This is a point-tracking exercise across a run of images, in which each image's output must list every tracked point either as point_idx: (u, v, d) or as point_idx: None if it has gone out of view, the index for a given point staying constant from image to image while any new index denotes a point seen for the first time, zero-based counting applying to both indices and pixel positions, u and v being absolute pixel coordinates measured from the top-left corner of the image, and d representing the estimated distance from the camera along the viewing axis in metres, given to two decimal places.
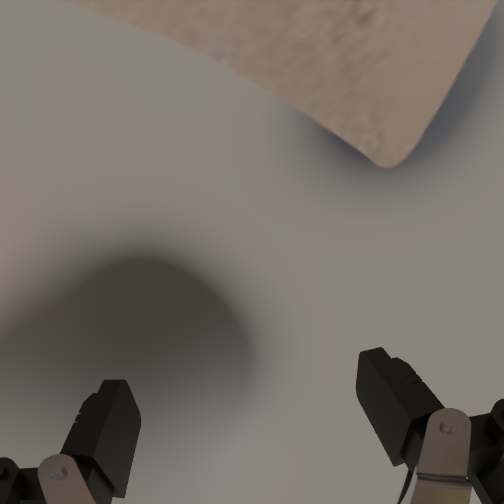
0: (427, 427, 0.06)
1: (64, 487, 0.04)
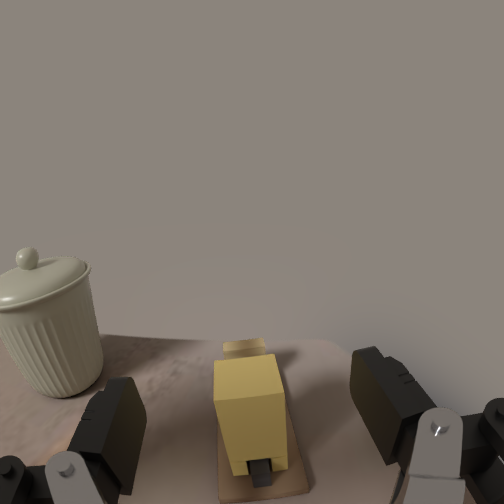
0: (418, 426, 0.06)
1: (71, 485, 0.05)
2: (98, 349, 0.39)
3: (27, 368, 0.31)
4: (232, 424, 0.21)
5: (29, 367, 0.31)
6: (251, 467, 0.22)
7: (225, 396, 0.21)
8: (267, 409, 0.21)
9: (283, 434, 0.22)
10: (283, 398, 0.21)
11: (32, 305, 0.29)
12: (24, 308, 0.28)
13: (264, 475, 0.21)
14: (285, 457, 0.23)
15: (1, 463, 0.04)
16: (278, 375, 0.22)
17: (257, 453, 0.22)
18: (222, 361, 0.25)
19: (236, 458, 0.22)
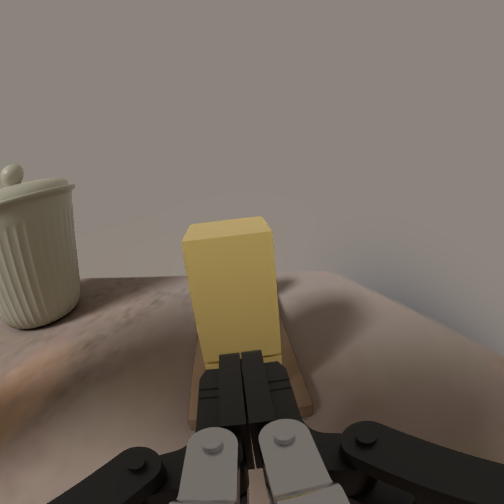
0: (259, 433, 0.07)
1: (211, 465, 0.06)
2: (74, 275, 0.36)
3: None
4: (205, 287, 0.18)
5: None
6: None
7: (197, 238, 0.17)
8: (251, 259, 0.18)
9: (274, 310, 0.19)
10: (271, 242, 0.17)
11: (7, 205, 0.25)
12: None
13: None
14: (279, 358, 0.20)
15: (133, 455, 0.06)
16: (266, 224, 0.19)
17: (240, 346, 0.19)
18: (199, 223, 0.22)
19: (212, 355, 0.19)
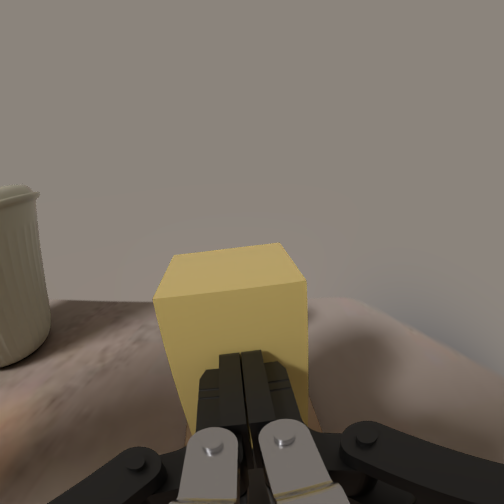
0: (259, 434, 0.07)
1: (211, 465, 0.06)
2: (41, 304, 0.27)
3: None
4: (196, 366, 0.11)
5: None
6: None
7: (178, 292, 0.10)
8: (269, 326, 0.10)
9: (301, 393, 0.11)
10: (304, 298, 0.10)
11: None
12: None
13: None
14: None
15: (133, 456, 0.06)
16: (291, 262, 0.12)
17: None
18: (186, 254, 0.14)
19: None
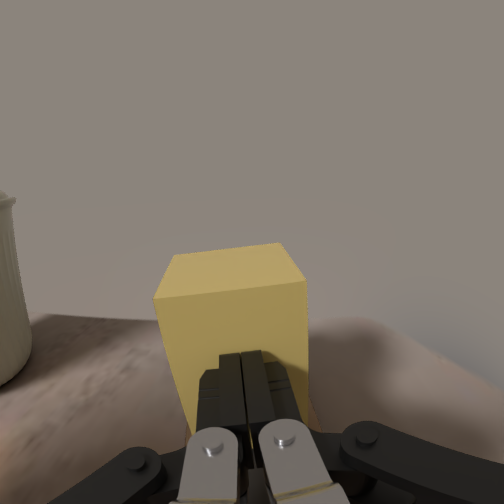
0: (259, 433, 0.07)
1: (211, 464, 0.06)
2: (18, 326, 0.23)
3: None
4: (196, 366, 0.11)
5: None
6: None
7: (178, 292, 0.10)
8: (270, 326, 0.10)
9: (301, 393, 0.11)
10: (304, 298, 0.10)
11: None
12: None
13: None
14: None
15: (133, 456, 0.06)
16: (291, 262, 0.12)
17: None
18: (187, 254, 0.14)
19: None
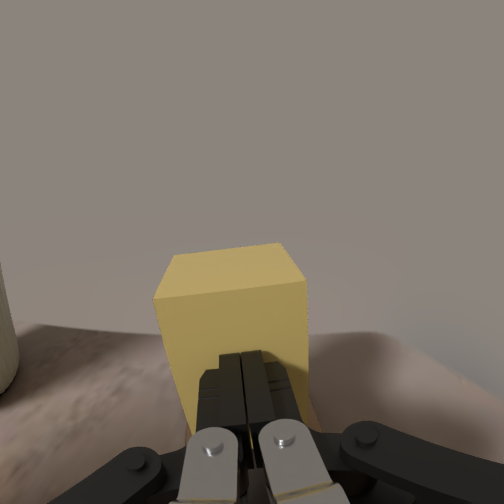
0: (259, 434, 0.07)
1: (210, 465, 0.06)
2: (2, 342, 0.20)
3: None
4: (196, 366, 0.11)
5: None
6: None
7: (178, 292, 0.10)
8: (270, 326, 0.10)
9: (301, 393, 0.11)
10: (304, 298, 0.10)
11: None
12: None
13: None
14: None
15: (133, 456, 0.06)
16: (291, 262, 0.12)
17: None
18: (187, 254, 0.14)
19: None
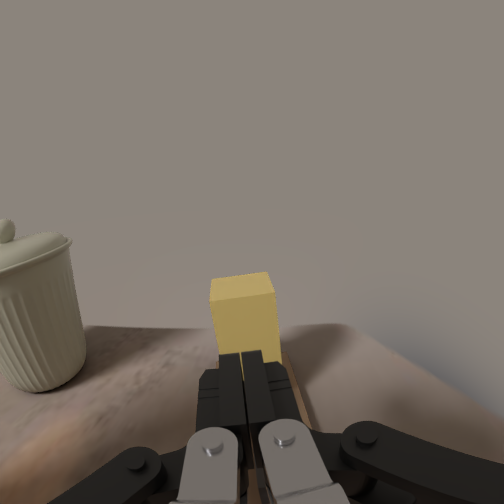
0: (259, 433, 0.07)
1: (210, 465, 0.06)
2: (79, 336, 0.34)
3: None
4: (227, 331, 0.24)
5: None
6: (258, 477, 0.16)
7: (220, 298, 0.24)
8: (260, 312, 0.24)
9: (277, 345, 0.25)
10: (274, 299, 0.24)
11: (0, 277, 0.23)
12: None
13: None
14: None
15: (133, 456, 0.06)
16: (270, 283, 0.26)
17: None
18: (218, 278, 0.28)
19: None
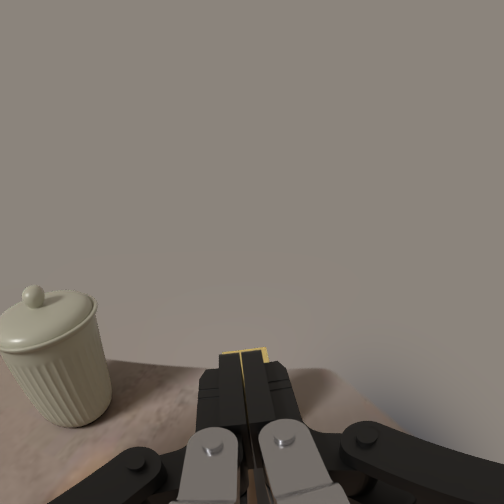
0: (259, 434, 0.07)
1: (210, 465, 0.06)
2: (107, 381, 0.40)
3: (39, 402, 0.31)
4: None
5: (41, 402, 0.31)
6: (258, 500, 0.22)
7: None
8: None
9: None
10: None
11: (43, 348, 0.29)
12: (35, 351, 0.29)
13: None
14: None
15: (133, 456, 0.06)
16: None
17: None
18: (228, 352, 0.35)
19: None
